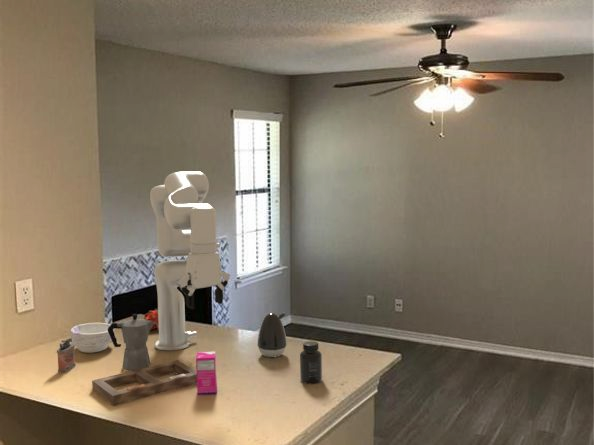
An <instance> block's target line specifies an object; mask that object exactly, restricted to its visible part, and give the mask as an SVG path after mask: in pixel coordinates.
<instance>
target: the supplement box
mask: <svg viewBox="0 0 594 445" xmlns="http://www.w3.org/2000/svg"><path fill="white" fill-rule="evenodd" d="M216 357H217V354H216V351H198V352H196V356H195V363H196V364H195V367H196V369H195V370H197V384H196V391H197V395H198V396H201V394H202V396H203V395H204V394H205V395H217V394H218V379H217V359H216Z"/></svg>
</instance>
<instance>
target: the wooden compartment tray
mask: <svg viewBox="0 0 594 445" xmlns="http://www.w3.org/2000/svg"><path fill="white" fill-rule="evenodd" d="M170 374H176V375H173V376H169V377H168V378H164V379H161V380H160V379H159V377H162V376H166V375H170ZM135 383H136V384H137V385H134V386H129V387H127V388H125V389H121V390H117V388H118V387H119V388H120V387H123V386H127V385H131V384H135ZM196 383H197V370H196V369H195V368H193V367H191V366H189V365H187V364H186V363H184V362H182V361H180V360H178V359H175V360H173V361H168V362H163V363H159V364H156V365H152V366H151V365H150V366H149V367H147V368H142V369H138V370H134V371H126V372H122V373H117V374H115V375H109V376H105V377H102V378H97V379H92V380H91V386H92V389H91V390H92V391H93V392H94V393H95V394H97V395H98V396H100V397H101V398H102V399H103V400H105V401H106V402H107V403H109V404H110V405H111V406H113V407H115V406H118V405H122V404H126V403H130V402H133V401H137V400H141V399H146V398H149V397H152V395H153V396H156V395H159V394H163V393H168V392H171V391H174V390H179V389H182V388H186V387H189V385H190V386H192V385H193V384H194V385H197V384H196Z"/></svg>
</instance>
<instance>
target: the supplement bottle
mask: <svg viewBox="0 0 594 445" xmlns="http://www.w3.org/2000/svg"><path fill="white" fill-rule="evenodd" d="M319 349H320V347H319V342H317V341H313V340H312V341H311V340H308V341H304V342H303V343H302V351H301V352H300V355H299V367H300V371H299V373H300V376H299V377H300V381H301V382H302V381H303V382H302V383H304V382H306V383H305V384H309V383H313V384H318V383H320V382H321V381H322V379H323V356H322V355H323V354H322V352H321V351H320V350H319Z"/></svg>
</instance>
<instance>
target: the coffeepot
mask: <svg viewBox="0 0 594 445" xmlns="http://www.w3.org/2000/svg"><path fill="white" fill-rule="evenodd" d="M131 316H132V319H128V320H124V321H123V322H119V321H118V322H112V323H111V325H110V326H109V328H108V333H109V335H110V337H111V340H112V342H111V343H112V344H113V347H114V348H120V347H121V346H122V344H121V343H117V342H118V340H117V337H116V334H115V329H119V330H121V334H122V338H123V339H122V340H123V343H124V344H125V348H124V352H123V359H122V360H123V361H122V365H121V366H122V368H123V370H125V371H127V372H130V371H134V370H138V369H142V368H147V367H151V359H150V354H149V349H148V346H147V342H148V339H149V333H150V331H151V328H152V326H153V325H154V324H155V322H154V321H149V320H144V318H143V319H142V318H138V314H137V313H133V314H132V315H131ZM113 329H114V331H113Z"/></svg>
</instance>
